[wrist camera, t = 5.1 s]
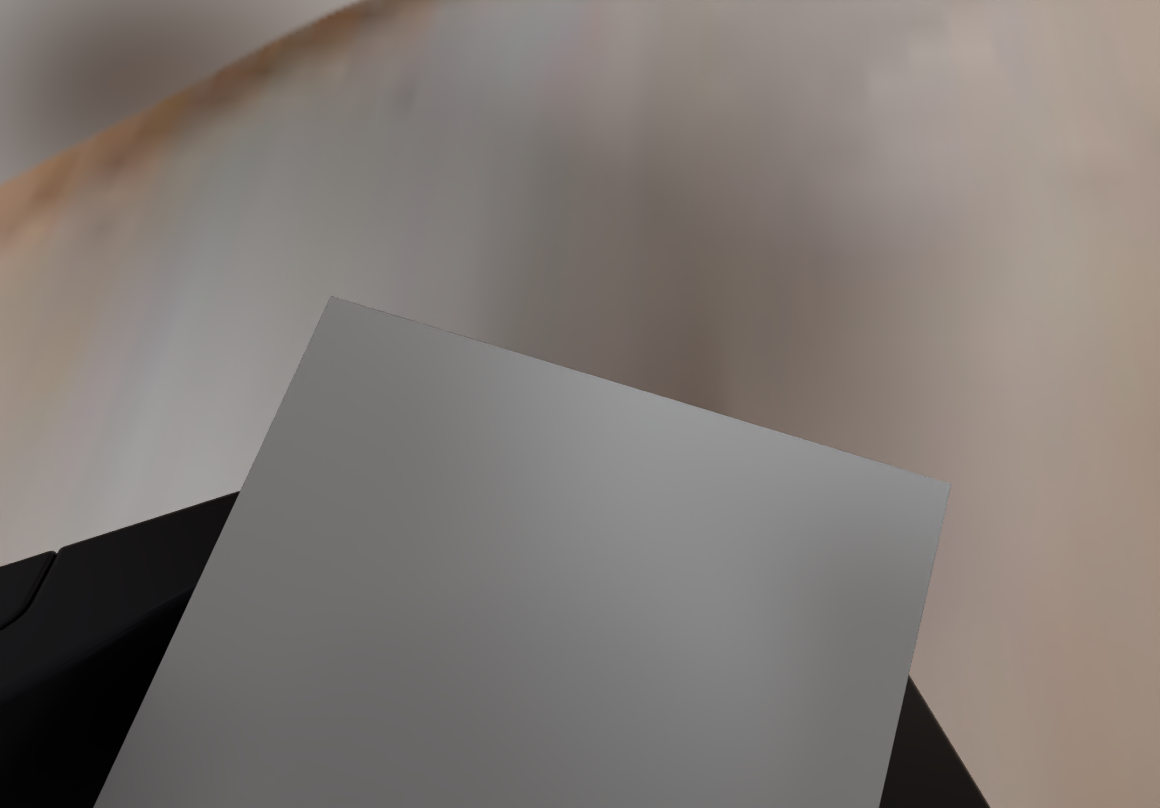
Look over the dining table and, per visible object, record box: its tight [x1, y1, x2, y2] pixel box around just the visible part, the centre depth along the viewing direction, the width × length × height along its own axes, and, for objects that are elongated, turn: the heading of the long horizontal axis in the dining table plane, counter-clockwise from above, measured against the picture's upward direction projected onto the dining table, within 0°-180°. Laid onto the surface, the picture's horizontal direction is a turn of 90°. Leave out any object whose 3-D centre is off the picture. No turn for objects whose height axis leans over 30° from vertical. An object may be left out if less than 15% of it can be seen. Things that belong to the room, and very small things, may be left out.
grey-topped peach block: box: [93, 296, 951, 808], centre depth 9 cm, size 4×4×10 cm
